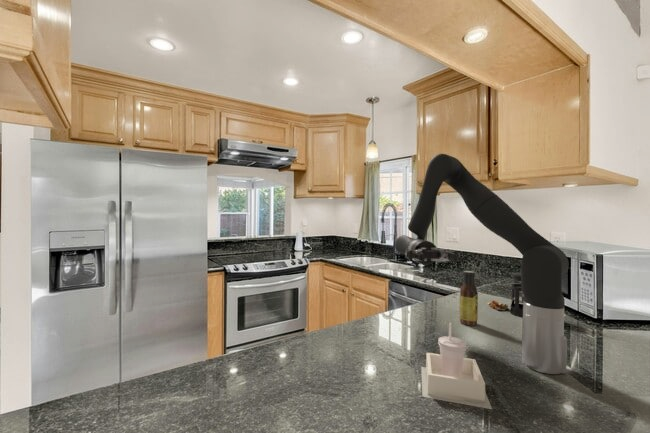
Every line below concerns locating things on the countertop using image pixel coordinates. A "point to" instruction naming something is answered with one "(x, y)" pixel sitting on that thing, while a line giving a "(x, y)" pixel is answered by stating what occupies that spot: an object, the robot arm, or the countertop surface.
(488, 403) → the mat
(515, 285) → the french press
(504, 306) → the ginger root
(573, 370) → the countertop surface
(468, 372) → the cream open box
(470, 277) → the sauce bottle
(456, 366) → the smoothie
